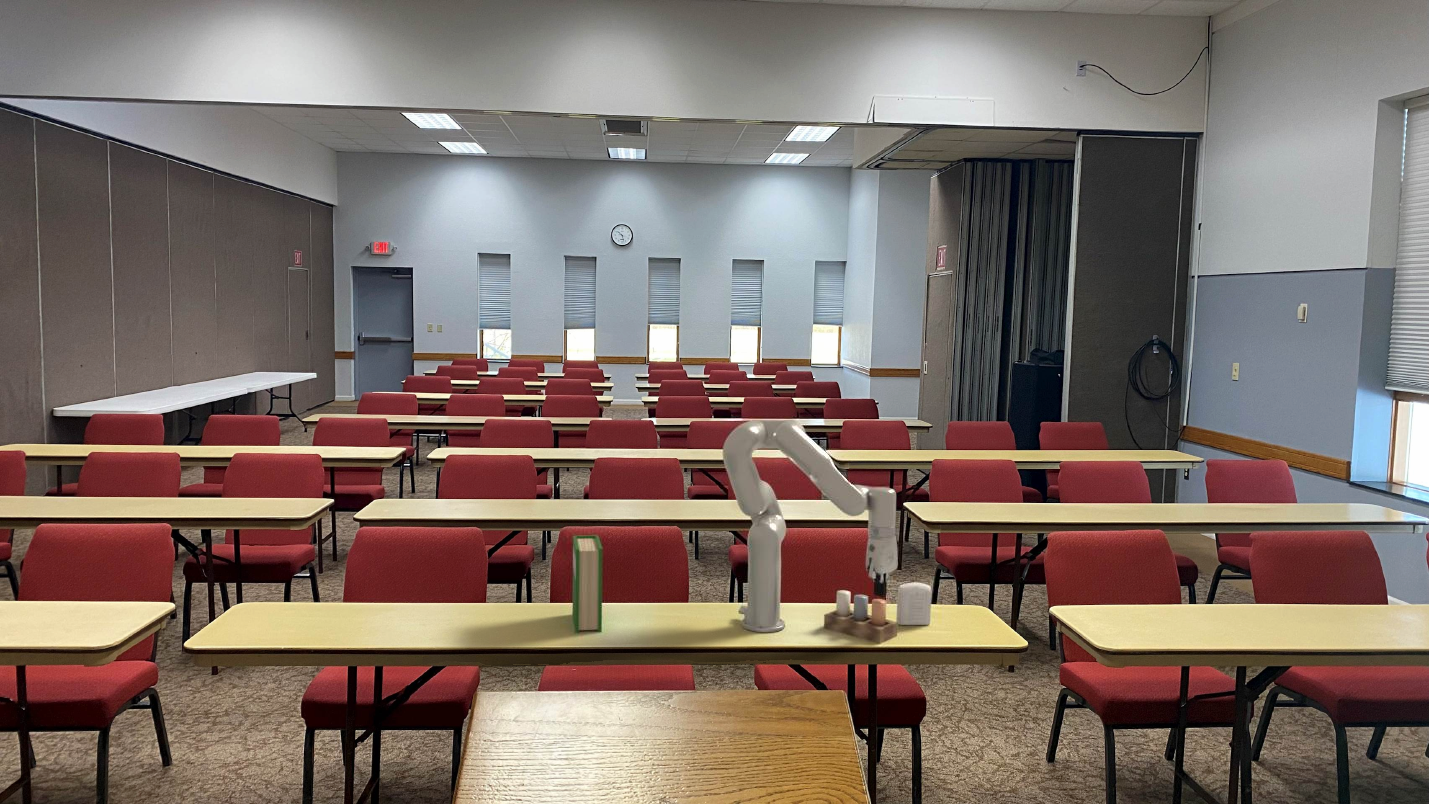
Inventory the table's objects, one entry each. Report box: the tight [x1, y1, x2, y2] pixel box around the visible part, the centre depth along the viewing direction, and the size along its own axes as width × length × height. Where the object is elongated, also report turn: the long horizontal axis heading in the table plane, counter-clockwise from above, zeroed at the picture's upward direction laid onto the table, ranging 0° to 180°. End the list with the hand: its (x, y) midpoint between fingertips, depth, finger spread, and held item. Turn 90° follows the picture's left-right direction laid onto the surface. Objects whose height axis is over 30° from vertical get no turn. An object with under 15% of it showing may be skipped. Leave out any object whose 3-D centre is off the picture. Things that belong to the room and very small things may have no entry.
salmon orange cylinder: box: [870, 598, 887, 627], centre depth 258 cm, size 4×4×7 cm
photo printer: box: [895, 582, 932, 626], centre depth 271 cm, size 10×4×12 cm, turn 98°
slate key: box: [853, 594, 869, 622], centre depth 262 cm, size 4×4×7 cm
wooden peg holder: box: [823, 609, 898, 644], centre depth 262 cm, size 19×9×4 cm, turn 48°
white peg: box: [835, 589, 852, 617], centre depth 266 cm, size 4×4×7 cm
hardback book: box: [571, 534, 604, 634], centre depth 265 cm, size 18×7×24 cm, turn 11°
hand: (880, 595), depth 258 cm, fingers closed
